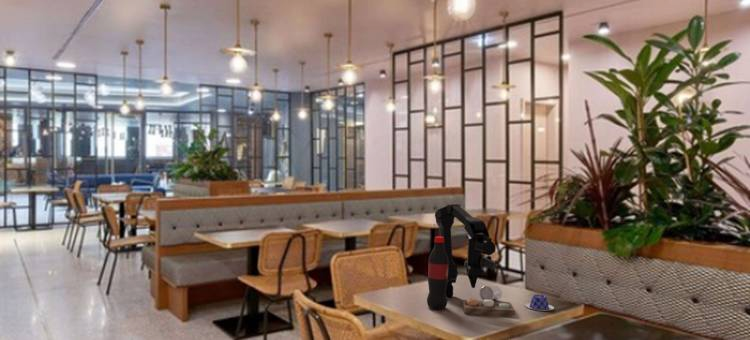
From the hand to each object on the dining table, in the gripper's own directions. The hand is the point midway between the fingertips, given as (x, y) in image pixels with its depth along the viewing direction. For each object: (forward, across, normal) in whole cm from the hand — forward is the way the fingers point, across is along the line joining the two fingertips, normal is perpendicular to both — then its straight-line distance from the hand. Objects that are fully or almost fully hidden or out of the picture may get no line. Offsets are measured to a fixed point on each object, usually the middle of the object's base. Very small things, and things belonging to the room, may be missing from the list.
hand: (473, 287), depth 221 cm
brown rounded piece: (+8, 0, 0) cm, 8 cm away
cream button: (+8, 0, -6) cm, 10 cm away
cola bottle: (+10, 0, +15) cm, 17 cm away
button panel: (+9, 0, -6) cm, 11 cm away
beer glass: (+6, +19, -12) cm, 23 cm away
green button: (+9, 0, -13) cm, 16 cm away
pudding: (+10, +10, -29) cm, 32 cm away
